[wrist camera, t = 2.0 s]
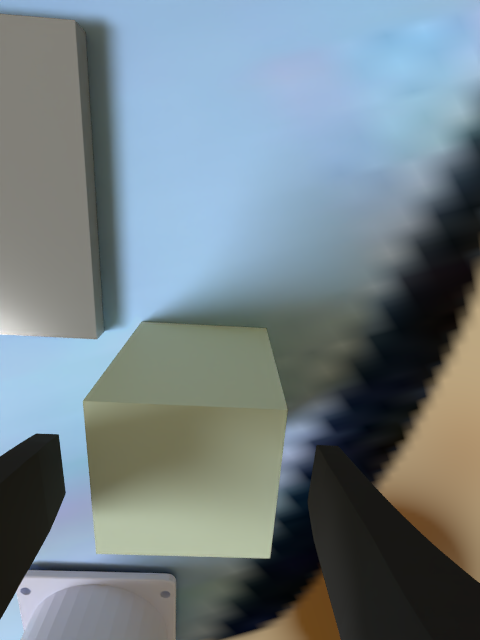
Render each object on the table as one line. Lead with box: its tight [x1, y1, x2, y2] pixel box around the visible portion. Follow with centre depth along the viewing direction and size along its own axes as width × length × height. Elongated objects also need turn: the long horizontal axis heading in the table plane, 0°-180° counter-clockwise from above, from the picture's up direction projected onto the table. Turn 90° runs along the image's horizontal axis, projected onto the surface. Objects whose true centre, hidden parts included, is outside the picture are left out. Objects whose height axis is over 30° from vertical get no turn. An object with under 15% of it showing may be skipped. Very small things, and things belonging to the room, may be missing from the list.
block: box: [83, 322, 288, 558], centre depth 12 cm, size 5×5×6 cm
